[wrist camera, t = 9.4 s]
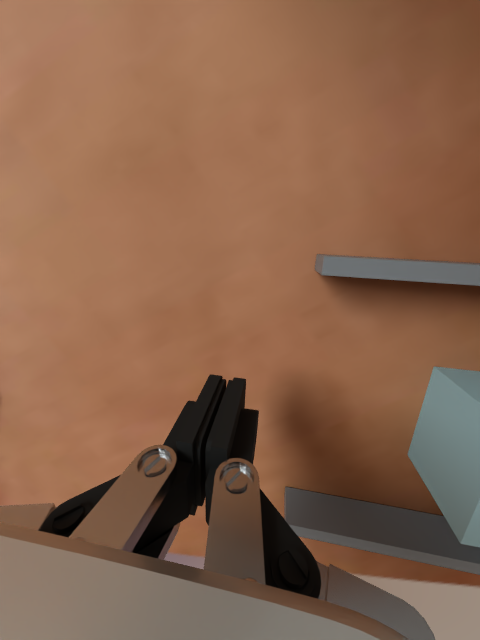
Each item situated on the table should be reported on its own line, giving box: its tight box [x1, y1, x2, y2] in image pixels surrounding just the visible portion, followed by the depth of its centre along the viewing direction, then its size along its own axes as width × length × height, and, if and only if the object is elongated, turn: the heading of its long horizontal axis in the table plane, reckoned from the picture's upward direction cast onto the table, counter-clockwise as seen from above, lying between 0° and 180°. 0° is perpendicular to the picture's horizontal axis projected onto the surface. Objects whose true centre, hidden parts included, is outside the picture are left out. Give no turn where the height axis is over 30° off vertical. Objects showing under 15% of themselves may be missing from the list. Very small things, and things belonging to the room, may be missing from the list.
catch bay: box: [284, 254, 480, 575], centre depth 13 cm, size 17×14×2 cm
